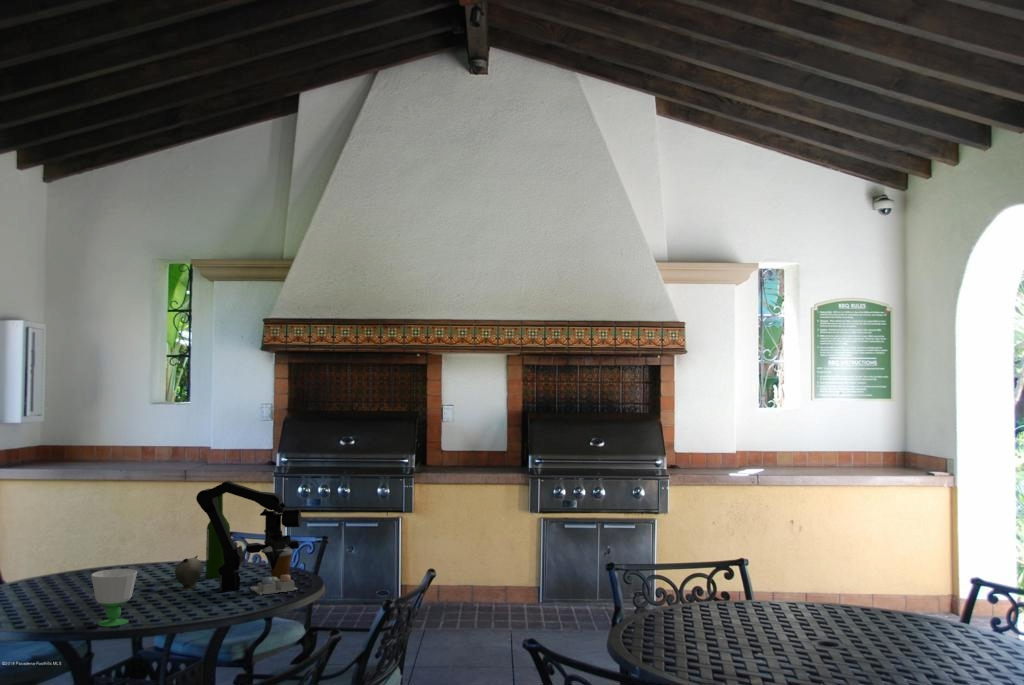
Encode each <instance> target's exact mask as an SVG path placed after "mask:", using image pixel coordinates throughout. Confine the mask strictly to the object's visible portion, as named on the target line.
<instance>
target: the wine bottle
mask: <svg viewBox="0 0 1024 685" xmlns="http://www.w3.org/2000/svg"><path fill="white" fill-rule="evenodd" d="M223 495H224V494H223ZM223 495H221V496H219V497H218V501H219V510H220V513H221V515H222V517H223V520H224V522H225V524H226V526H227V529H228V531H229V533H231V527H230V523H229V521H228V520H227V518H226V516H225V515H224V506H223V505H224V502H223V500H224V498H223V497H224V496H223ZM205 546H206V547H205V548H206V550H205V578H206V577H208V578H207V579H210V578H218V579H220V574H219V571H218V569H219V568H220V567H221V566H223V565H224V564H225V563H224V559H223V549H222V546H221V544H220V542H219V540H218V537H217V535H216V533H215V530H214V528H213V526H212V524H211V521H210V520H209V522H208V523H207V527H206V545H205Z"/></svg>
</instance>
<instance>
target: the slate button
mask: <svg viewBox="0 0 1024 685" xmlns="http://www.w3.org/2000/svg"><path fill="white" fill-rule="evenodd" d="M261 582H262V584H263V585H265V584H272V576H262V577H261Z"/></svg>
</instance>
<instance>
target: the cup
mask: <svg viewBox="0 0 1024 685" xmlns="http://www.w3.org/2000/svg"><path fill="white" fill-rule="evenodd" d="M137 575H138V570H135V569H129V568H115V569H105V570H99V571H95V572H93V573H91V576H90V577H91V582H92V587H93V591H94V597H95V600H96V601H97V602H96V603H98V604H101V605H103V606H106V607H107V608H106V610H105V616H106V617H107V619H104V620H101V621H99V622H98V623H97V625H98V626H99V627H106V628H107V627H117V626H118V625H119V626H123V625H125V624H128V623H129V620H128V619H126V618H120V616H121V614H122V608H121V605H123V604H125V603H126V602H128V601H130V599H131V598H132V597H133V592H134V589H135V584H136V580H137Z"/></svg>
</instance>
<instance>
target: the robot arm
mask: <svg viewBox="0 0 1024 685" xmlns="http://www.w3.org/2000/svg"><path fill="white" fill-rule="evenodd" d="M226 493H228V494H230V495H232V496H233V495H234V496H237V497H238V498H239V497H240V498H243V499H247V500H249V501H252V502H255V503H257V505H259V506H261V507H263V508H264V509H263V510H262V512H261V513H260V514H259V516H260V517H262V516H263V517H265V518H264V519H265V521H264V522H265V523H264V524H265V525H264V526H265V529H264V542H263V544H260V543H258V542H252V543H247V545H246V546H245V551H246V552H248V553H250V554H255V553H256V554H257V553H260V552H261V553H263V554H264V556H265V557H266V559H267V562H268V564H269V567H270V570H271V569H272V570H273V569H274V568H275V565H276V562H277V560H278V557H279V555H280V554H281V553H282V552H284V550H283V549H285V547H288V548H291V549H292V550H294V549H295V550H297V549H299V548H300V542H299V541H298V540H297V539H293V538H292V539H291V535H283V530H282V526H284V528H301V526H302V523H303V516H302V513H301V509H300V508H296V509H292V508H291V509H289V508H288V507H287V506H286V504H285V503H284V500H283V497H282V495H281V494H280V493H276V492H269V491H259V490H256V489H254V488H250V487H247V486H244V485H241V484H239V483H236V482H232V481H231V480H227V481H224V482H222V483H219V484H218V485H217V486H214V487H211V488H206V489H203V490H200V491H199V492H198V493H197V495H196V497H195V499H196V502H197V504H198V506H199V507H200V508H201V509H202V510H203V512H205V514H207V516H208V519H209V522H210V521H211V524H212V526H213V528H214V530H215V533H216V535H217V537H218V540H219V542H220V544H221V546H222V549H223V559H224V563H225V564H224V565H223V566H221V567H220V568H219V569H218V571H219V574H220V578H219V587H217V589H218V590H220V591H221V592H224V593H225V592H229V591H231V590H232V591H238V590H237V589H240V590H241V576H240V575H239V574H240V573H239V572H240V571H239V570H240V568H241V566H244V564H245V560H246V558H245V556H246V553H245V552H244V550H243V547H242V545H239V546H237V545H236V544H235V543H234V541H233V538H232V536H231V534H230V533H231V532H230V533H229V531H228V529H227V526H226V524H225V522H224V520H223V517H222V515H221V513H220V510H219V501H218V497H219V496H221V495H224V494H226ZM232 591H231V592H232Z"/></svg>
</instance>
